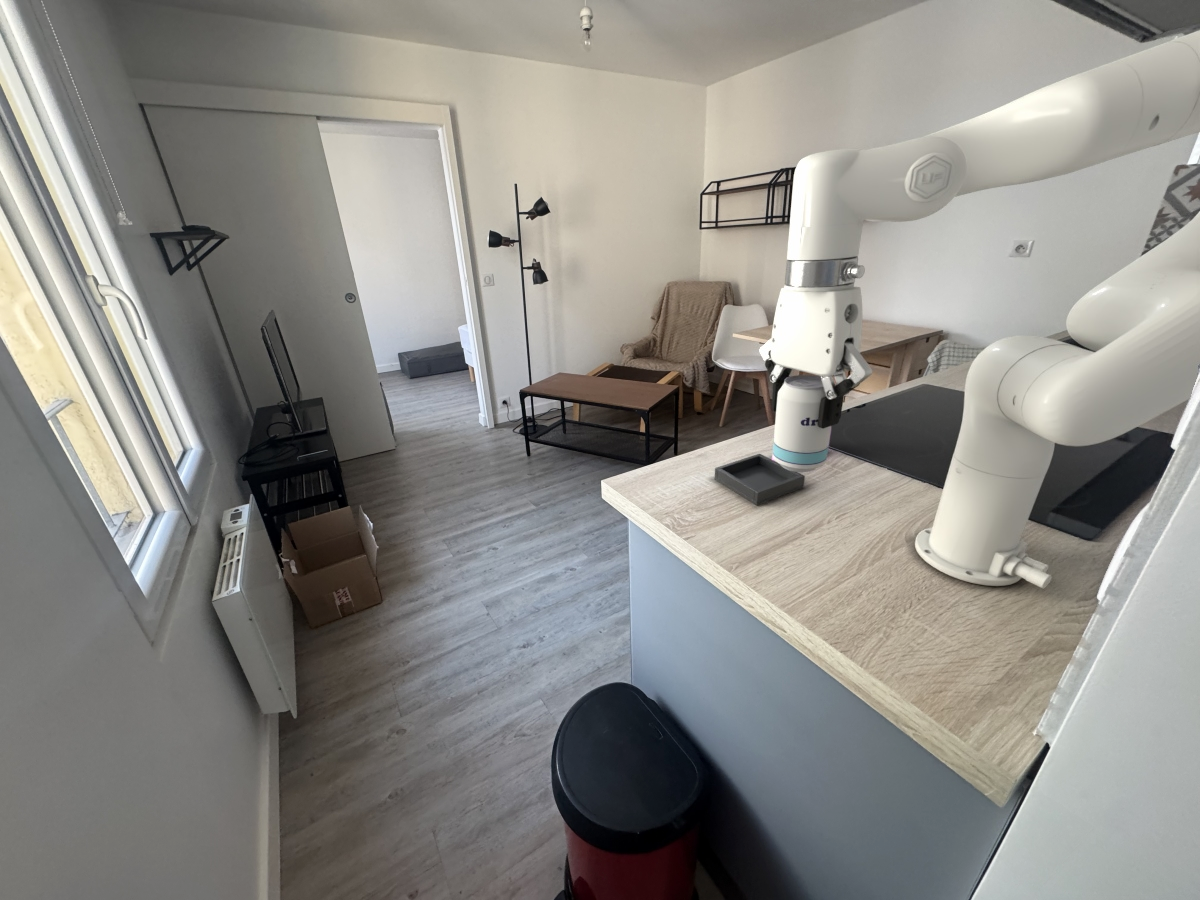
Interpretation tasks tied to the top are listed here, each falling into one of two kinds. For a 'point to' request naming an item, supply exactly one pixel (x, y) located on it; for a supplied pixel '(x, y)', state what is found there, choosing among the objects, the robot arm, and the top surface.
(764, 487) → the tray
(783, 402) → the beverage can
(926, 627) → the top surface
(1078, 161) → the robot arm
